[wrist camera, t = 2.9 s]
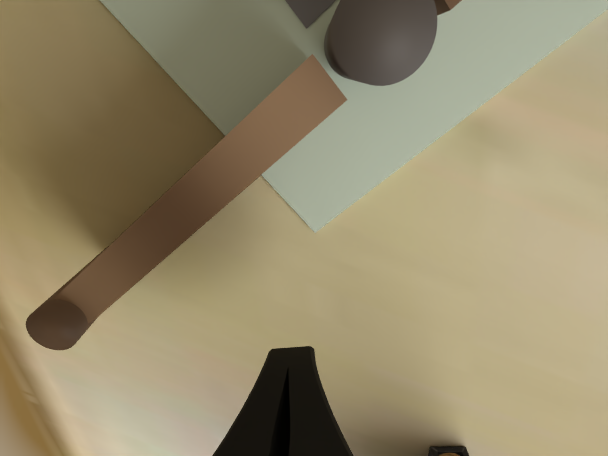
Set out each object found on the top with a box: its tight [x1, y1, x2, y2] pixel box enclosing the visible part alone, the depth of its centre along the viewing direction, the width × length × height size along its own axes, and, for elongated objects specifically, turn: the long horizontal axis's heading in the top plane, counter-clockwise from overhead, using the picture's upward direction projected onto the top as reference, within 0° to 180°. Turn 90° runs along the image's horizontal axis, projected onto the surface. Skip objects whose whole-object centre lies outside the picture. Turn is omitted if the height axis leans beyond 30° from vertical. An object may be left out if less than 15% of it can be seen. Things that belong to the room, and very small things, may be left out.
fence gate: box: [26, 54, 347, 350], centre depth 11 cm, size 11×1×4 cm, turn 131°
